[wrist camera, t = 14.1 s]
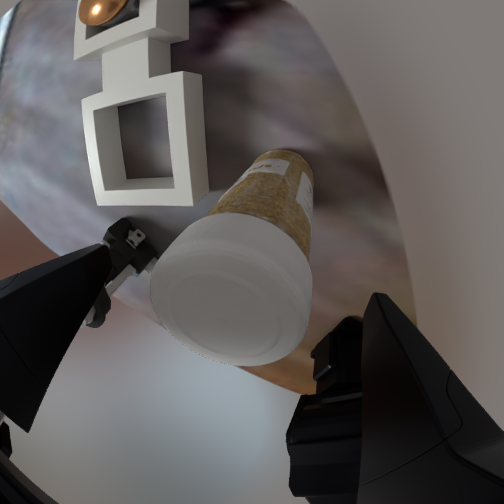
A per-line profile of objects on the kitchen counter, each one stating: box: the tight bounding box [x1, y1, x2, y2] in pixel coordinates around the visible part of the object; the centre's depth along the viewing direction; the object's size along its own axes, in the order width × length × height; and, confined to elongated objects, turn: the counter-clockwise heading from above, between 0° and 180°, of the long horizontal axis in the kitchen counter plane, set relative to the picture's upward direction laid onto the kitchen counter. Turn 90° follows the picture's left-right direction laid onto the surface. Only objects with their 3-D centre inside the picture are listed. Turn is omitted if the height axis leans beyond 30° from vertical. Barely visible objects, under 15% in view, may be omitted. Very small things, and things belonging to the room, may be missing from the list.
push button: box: [80, 218, 158, 328], centre depth 20 cm, size 7×5×10 cm
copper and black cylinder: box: [78, 0, 140, 27], centre depth 10 cm, size 4×4×6 cm
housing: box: [74, 0, 209, 206], centre depth 14 cm, size 19×9×4 cm, turn 2°
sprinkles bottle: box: [150, 149, 314, 366], centre depth 13 cm, size 5×5×14 cm
